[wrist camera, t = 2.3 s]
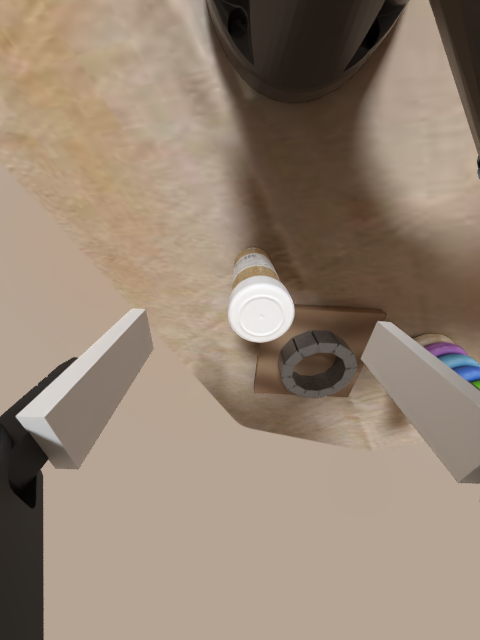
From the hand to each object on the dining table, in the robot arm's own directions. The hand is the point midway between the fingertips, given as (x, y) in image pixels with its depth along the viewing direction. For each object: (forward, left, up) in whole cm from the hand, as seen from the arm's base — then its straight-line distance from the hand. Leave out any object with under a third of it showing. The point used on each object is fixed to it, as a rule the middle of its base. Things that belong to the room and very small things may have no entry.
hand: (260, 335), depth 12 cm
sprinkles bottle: (0, 0, -16) cm, 16 cm away
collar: (+13, +10, -14) cm, 21 cm away
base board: (+13, +10, -15) cm, 22 cm away
